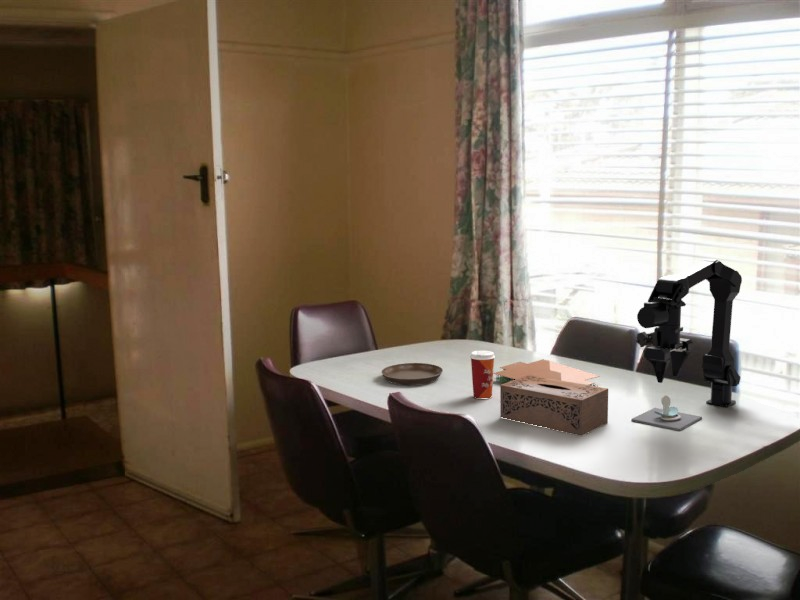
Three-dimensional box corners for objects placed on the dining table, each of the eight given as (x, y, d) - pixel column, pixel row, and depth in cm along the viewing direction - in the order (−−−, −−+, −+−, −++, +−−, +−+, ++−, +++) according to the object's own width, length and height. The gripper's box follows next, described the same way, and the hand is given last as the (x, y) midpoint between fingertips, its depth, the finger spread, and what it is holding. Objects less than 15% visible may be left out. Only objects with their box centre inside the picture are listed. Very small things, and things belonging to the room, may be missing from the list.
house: (535, 370, 296) (535, 347, 295) (611, 388, 270) (611, 363, 269) (487, 381, 283) (487, 357, 282) (562, 401, 257) (562, 375, 256)
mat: (654, 409, 245) (654, 407, 245) (701, 418, 236) (701, 416, 236) (631, 420, 235) (631, 418, 235) (679, 430, 226) (679, 428, 226)
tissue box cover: (500, 419, 240) (500, 385, 239) (528, 407, 251) (528, 374, 250) (581, 436, 224) (582, 400, 222) (607, 423, 234) (608, 388, 233)
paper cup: (490, 401, 257) (490, 356, 255) (466, 398, 261) (466, 354, 258) (498, 394, 264) (498, 350, 262) (475, 392, 268) (475, 349, 265)
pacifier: (686, 419, 234) (669, 413, 239) (687, 397, 233) (670, 392, 238) (667, 423, 231) (650, 417, 236) (669, 401, 229) (652, 396, 235)
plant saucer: (422, 390, 272) (421, 380, 272) (369, 382, 283) (369, 373, 283) (454, 376, 289) (454, 367, 289) (403, 369, 300) (403, 360, 300)
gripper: (657, 315, 243) (655, 368, 246) (625, 325, 230) (624, 381, 232) (695, 320, 236) (692, 374, 238) (664, 330, 222) (662, 388, 225)
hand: (667, 379), depth 234 cm, fingers open, 9 cm apart
